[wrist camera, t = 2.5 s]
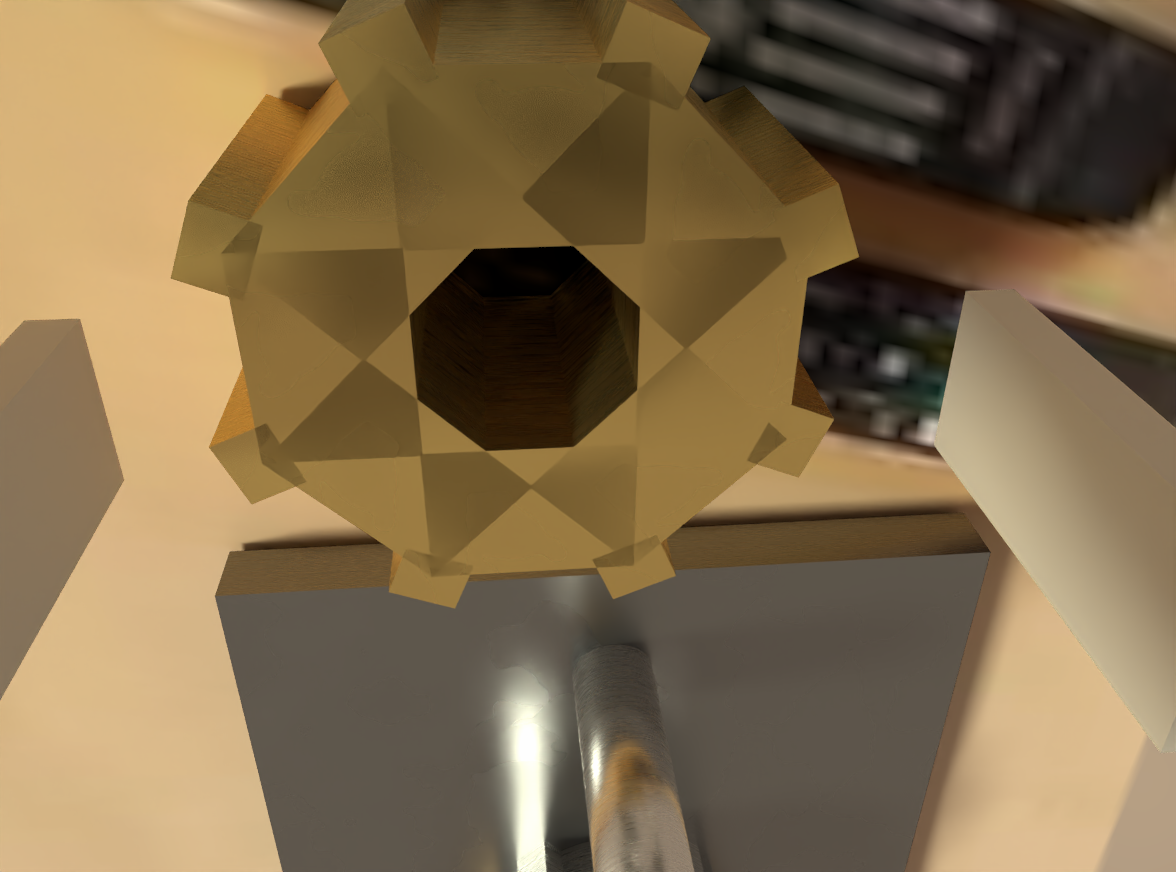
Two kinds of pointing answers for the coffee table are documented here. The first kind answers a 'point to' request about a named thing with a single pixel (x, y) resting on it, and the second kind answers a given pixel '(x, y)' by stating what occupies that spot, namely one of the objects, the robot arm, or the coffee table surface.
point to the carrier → (609, 703)
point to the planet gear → (516, 323)
